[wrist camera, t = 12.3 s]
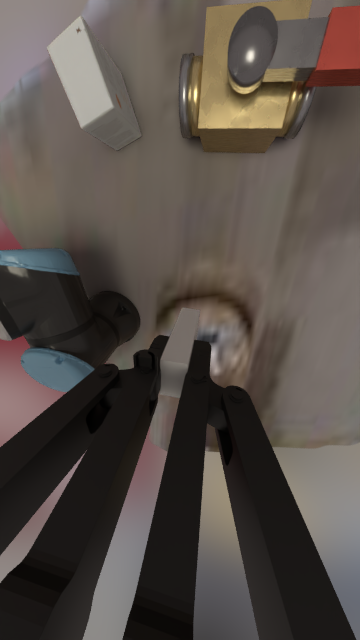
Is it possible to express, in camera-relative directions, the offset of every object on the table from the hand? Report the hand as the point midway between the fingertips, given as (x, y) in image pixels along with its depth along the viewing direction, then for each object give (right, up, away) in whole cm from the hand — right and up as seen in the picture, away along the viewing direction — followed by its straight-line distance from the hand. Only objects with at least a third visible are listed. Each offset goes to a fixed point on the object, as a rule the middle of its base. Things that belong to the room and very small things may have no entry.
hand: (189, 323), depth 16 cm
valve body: (+8, +32, +13) cm, 36 cm away
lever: (+12, +26, +3) cm, 29 cm away
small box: (-11, +35, +16) cm, 40 cm away
